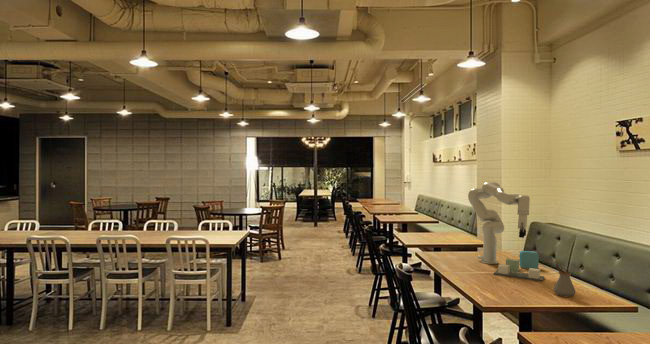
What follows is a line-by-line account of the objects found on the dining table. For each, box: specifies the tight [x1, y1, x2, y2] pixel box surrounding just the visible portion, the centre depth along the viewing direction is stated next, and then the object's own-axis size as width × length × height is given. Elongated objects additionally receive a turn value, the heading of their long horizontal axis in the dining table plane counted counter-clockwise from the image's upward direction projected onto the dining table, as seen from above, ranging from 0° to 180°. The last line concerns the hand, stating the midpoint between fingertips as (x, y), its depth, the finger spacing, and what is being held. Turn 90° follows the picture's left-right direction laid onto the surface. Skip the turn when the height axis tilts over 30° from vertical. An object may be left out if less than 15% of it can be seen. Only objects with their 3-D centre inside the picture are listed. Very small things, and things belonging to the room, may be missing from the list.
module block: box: [505, 258, 520, 273], centre depth 310 cm, size 8×4×8 cm, turn 56°
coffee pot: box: [552, 263, 576, 297], centre depth 257 cm, size 21×12×15 cm, turn 169°
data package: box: [519, 250, 540, 269], centre depth 320 cm, size 12×4×12 cm, turn 82°
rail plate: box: [493, 268, 545, 283], centre depth 293 cm, size 30×10×2 cm, turn 56°
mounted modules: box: [497, 263, 541, 279], centre depth 293 cm, size 25×7×5 cm, turn 56°
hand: (522, 236), depth 310 cm, fingers open, 9 cm apart
